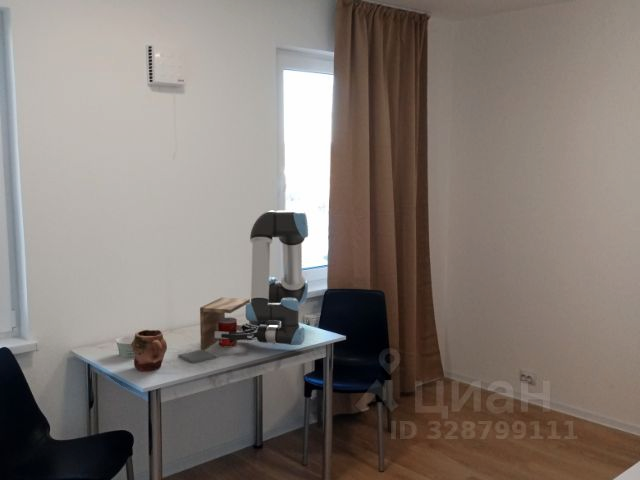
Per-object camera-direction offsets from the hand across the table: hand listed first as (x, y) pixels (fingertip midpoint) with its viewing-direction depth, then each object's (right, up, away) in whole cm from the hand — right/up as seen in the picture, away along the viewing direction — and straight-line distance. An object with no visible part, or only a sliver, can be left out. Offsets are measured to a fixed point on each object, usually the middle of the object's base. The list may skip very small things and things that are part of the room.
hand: (221, 330), depth 276 cm
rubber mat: (-7, -8, -19) cm, 22 cm away
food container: (-34, -8, -16) cm, 38 cm away
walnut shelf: (+3, -6, 0) cm, 7 cm away
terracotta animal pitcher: (-22, -10, -34) cm, 41 cm away
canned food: (+3, -6, 0) cm, 7 cm away
